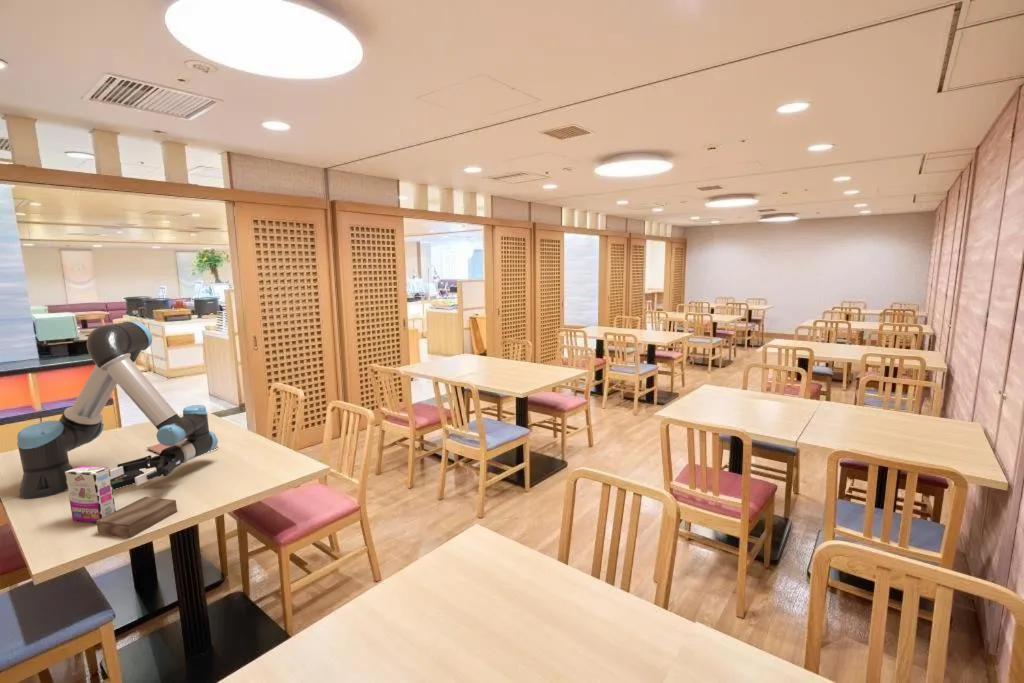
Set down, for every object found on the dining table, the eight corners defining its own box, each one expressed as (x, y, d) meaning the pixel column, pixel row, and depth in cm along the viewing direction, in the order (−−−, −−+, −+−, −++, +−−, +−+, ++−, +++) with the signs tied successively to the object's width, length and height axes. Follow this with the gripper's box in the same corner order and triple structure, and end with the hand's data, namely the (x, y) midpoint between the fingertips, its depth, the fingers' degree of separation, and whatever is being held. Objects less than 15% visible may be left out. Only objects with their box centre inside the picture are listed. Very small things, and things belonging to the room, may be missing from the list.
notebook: (221, 449, 203) (220, 445, 203) (178, 463, 189) (177, 459, 189) (189, 438, 217) (189, 434, 217) (147, 451, 203) (146, 446, 203)
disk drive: (138, 474, 180) (87, 488, 168) (137, 467, 180) (86, 481, 168) (148, 481, 174) (96, 496, 162) (147, 473, 174) (95, 489, 162)
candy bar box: (118, 515, 149) (110, 466, 146) (102, 524, 144) (93, 473, 141) (88, 513, 151) (80, 464, 148) (71, 521, 146) (63, 471, 143)
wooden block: (98, 533, 139) (96, 520, 138) (147, 507, 153) (145, 496, 153) (130, 537, 136) (128, 525, 136) (177, 511, 151) (175, 500, 150)
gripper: (206, 466, 172) (151, 494, 152) (151, 461, 177) (90, 487, 157) (204, 447, 171) (148, 472, 151) (148, 442, 176) (87, 466, 156)
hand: (119, 480), depth 154 cm, fingers open, 13 cm apart
